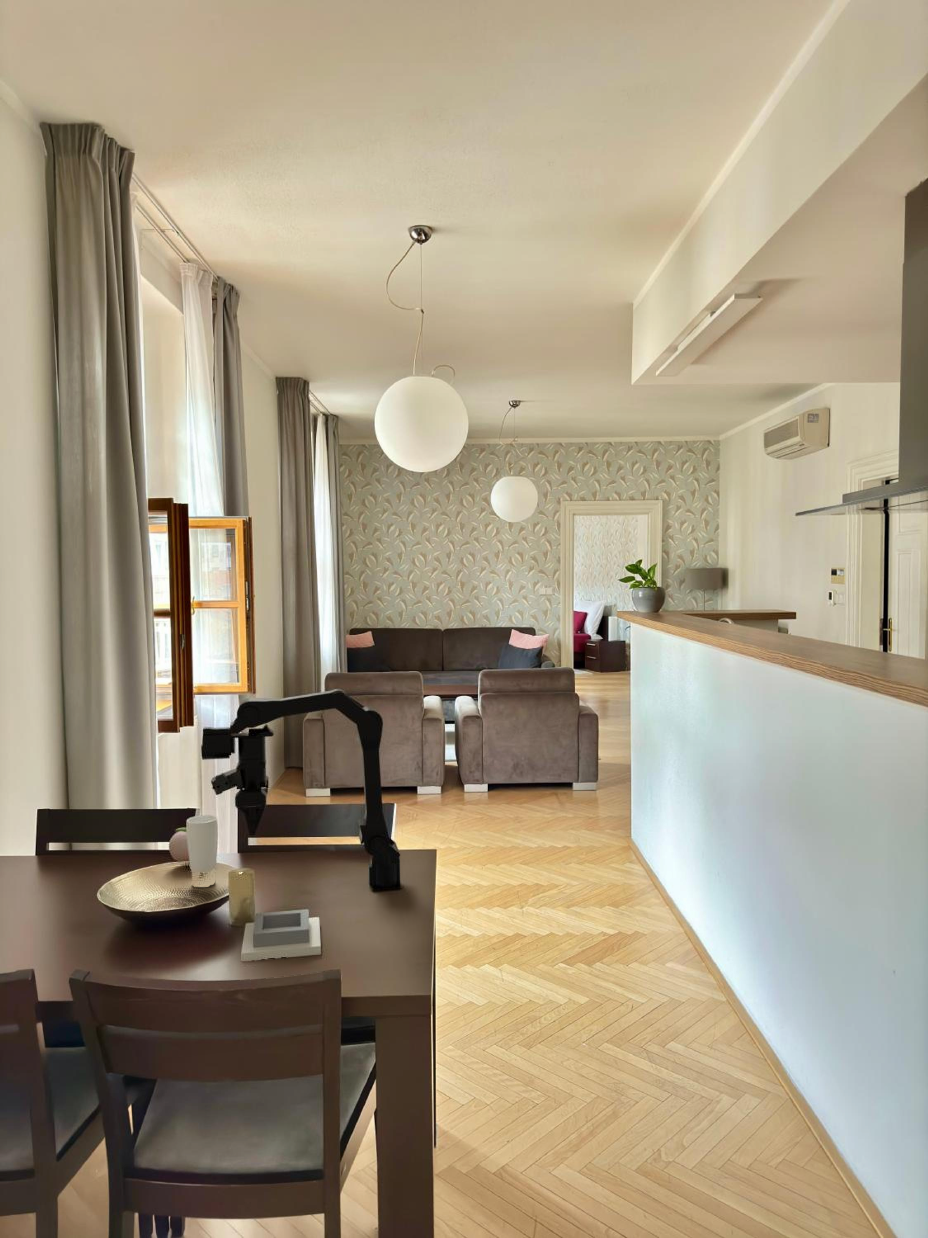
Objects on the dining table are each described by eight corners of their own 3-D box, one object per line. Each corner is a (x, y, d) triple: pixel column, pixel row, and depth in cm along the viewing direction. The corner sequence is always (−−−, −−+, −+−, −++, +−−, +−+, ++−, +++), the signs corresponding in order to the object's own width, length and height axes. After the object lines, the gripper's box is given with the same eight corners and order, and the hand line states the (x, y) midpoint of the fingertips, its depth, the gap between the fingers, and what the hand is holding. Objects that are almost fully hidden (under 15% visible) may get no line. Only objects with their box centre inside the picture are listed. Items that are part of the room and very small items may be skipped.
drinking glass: (200, 892, 189) (198, 824, 189) (181, 886, 194) (179, 820, 193) (225, 883, 195) (223, 817, 194) (207, 877, 199) (205, 813, 198)
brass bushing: (256, 916, 175) (254, 867, 175) (254, 925, 171) (253, 875, 170) (230, 918, 175) (229, 869, 174) (228, 927, 170) (227, 877, 169)
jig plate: (319, 924, 170) (318, 904, 170) (320, 954, 157) (320, 932, 156) (246, 931, 168) (245, 910, 168) (241, 961, 154) (240, 939, 154)
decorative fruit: (161, 870, 205) (159, 828, 204) (183, 859, 212) (182, 819, 212) (193, 874, 202) (192, 831, 201) (215, 863, 209) (214, 822, 209)
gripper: (217, 751, 193) (218, 820, 194) (208, 768, 175) (210, 844, 175) (268, 748, 195) (269, 817, 196) (265, 765, 177) (266, 841, 177)
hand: (253, 829), depth 186 cm, fingers open, 9 cm apart
